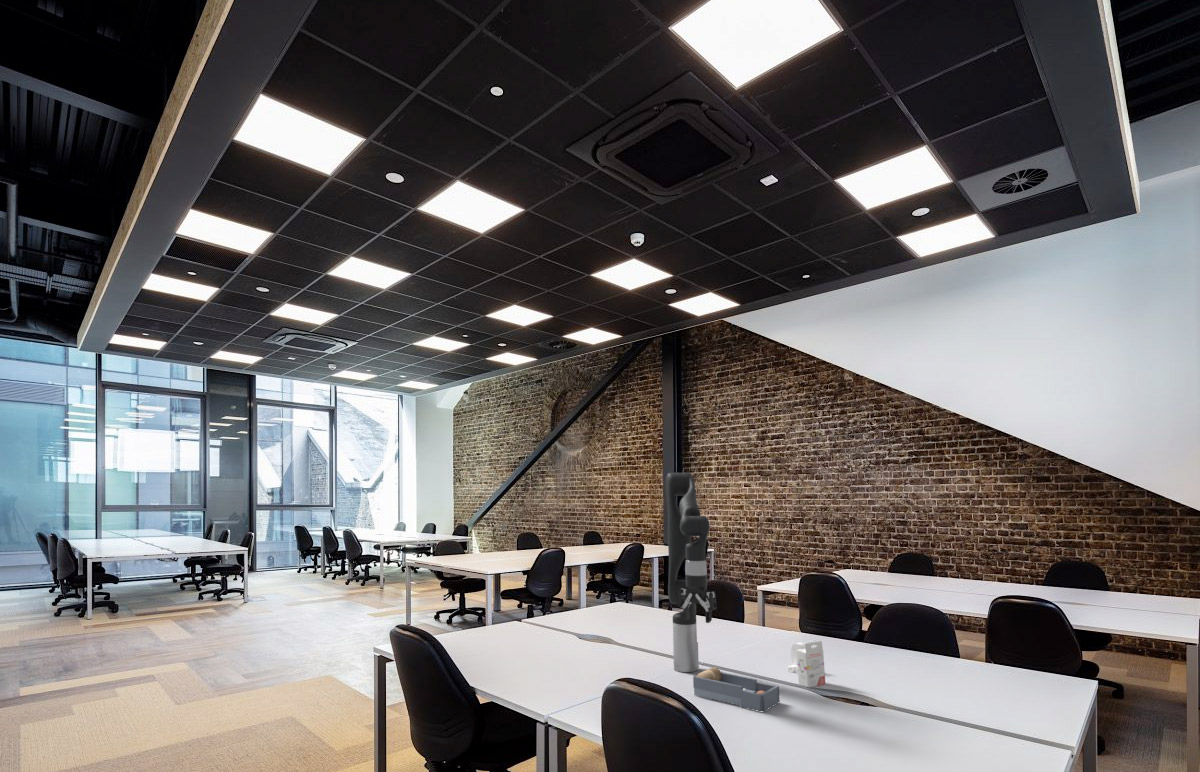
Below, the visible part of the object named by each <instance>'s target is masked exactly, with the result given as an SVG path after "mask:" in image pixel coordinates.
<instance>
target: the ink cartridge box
mask: <svg viewBox="0 0 1200 772" xmlns="http://www.w3.org/2000/svg"><path fill="white" fill-rule="evenodd" d="M804 644H805V647H806V649H800V650H796V651H797V666H798V674H797V678H798V685H799V686H802V687H806V688H808V689H810V688H814V687H818V686H824V685H826V673H825V657H824V650H823V649H824V648H823V642H822V640H819V641H813V642H807V643H804ZM812 646H813V647H812ZM814 646H815V647H814Z"/></svg>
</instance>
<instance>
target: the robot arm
mask: <svg viewBox="0 0 1200 772" xmlns="http://www.w3.org/2000/svg"><path fill="white" fill-rule="evenodd" d="M665 491H666V502H667V544H668V545H667V546H668V585H667V594H668V595H667V597H668V600H669V602H670V604H672V605H677V606H678V607H681V608H682V609H683V610H682V611H679V612H676V613H674V614H673V615H672V643H673V645H672V646H673V648H672V649H673V653H672V654H673V669H674V671H675V672H676V671H677V672H681V673H694V672H696V671H698V670H699V667H700V666H699V665H700V664H699V663H700V662H699V642H698V633H697V632H698V631H697V630H698V629H697V625H698V624H697V605H698V604H700V605H701V607H702V608H703V609H704V610H705V613H704V614H705V616H704V617H705V623H706V624H710V623H711V622H712V620H713V618H712V617H713V615H712V614H713V613H712V612H713V611H716V610H717V608H718V607H717V599H716V598H717V597H716V591H711V592H710V591H708V571H707V569H708V568H707V562H706V546H707V545H706V544H707V540H708V535H709V532H710V526H711V525H710V520H709V519H708V518H707V517H706V516H705V515H701V511H700V508H699V505H698V502H697V492H696V485H695V479H694V477H693V475H692V474H691V473H690V472H668V473H667V475H666V478H665ZM676 496H678V497H680V496H681V497H682V498H681V499H680V501H679V505H678V504H677V500H676ZM692 537H698V539H697V540H695V541H693V542H692ZM684 560H685V568H684V572H685V579H678V574H679V570H680V568H681V565H682V563H683V561H684Z"/></svg>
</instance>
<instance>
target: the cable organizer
mask: <svg viewBox="0 0 1200 772" xmlns="http://www.w3.org/2000/svg"><path fill="white" fill-rule="evenodd" d="M805 644H806V643H804V642H797V643H794V644H793V645H791V648H790V650H791V665H788V666H787V672H788V673H795V674H796V675H798V666H797V651H796V650H800V649H806V647H805Z"/></svg>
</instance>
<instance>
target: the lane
mask: <svg viewBox="0 0 1200 772" xmlns="http://www.w3.org/2000/svg"><path fill="white" fill-rule="evenodd" d="M721 674H722V679H721V681H716V680H711V679H706V678H702V677H697V675H694V676H692V680H693V682H692V683H693V687H692V688H693V692H694V696H695V695H696V696H697V697H699V696H700V698H704V699H709V700H712V699H714V700H713V701H716V700H719V701H718V702H721V701H724V702H723V703H725V702H729V703H733V704H737V705H741V706H740V708H741V707H745V708H749V709H754V710H758V711H765V710H767V709H768V708H770V707H772V706H773V705H775V704H777V703H778V702H780V703H781V700H780V686H779V685H774V684H769V683H765V682H759V681H758V680H757V678H753V677H748V676H743V675H737V674H733V673H727V672H723V671H721ZM758 691H764V693H762V694H758V693H757V692H758ZM729 703H728V704H729ZM733 704H732V705H733ZM778 704H779V703H778ZM778 704H777V705H778ZM737 705H736V706H737ZM775 706H776V705H775ZM773 707H774V706H773ZM773 707H772V708H773ZM745 708H744V709H745ZM749 709H748V710H749ZM770 709H771V708H770ZM758 711H757V712H758ZM767 711H768V710H767ZM765 712H766V711H765Z"/></svg>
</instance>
